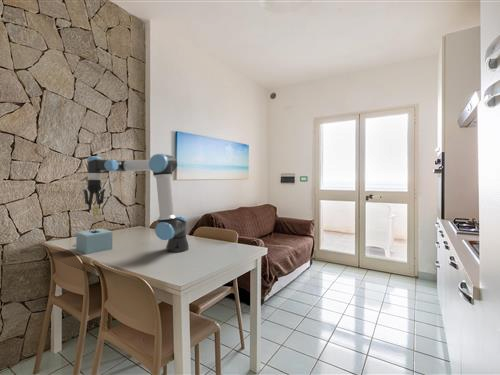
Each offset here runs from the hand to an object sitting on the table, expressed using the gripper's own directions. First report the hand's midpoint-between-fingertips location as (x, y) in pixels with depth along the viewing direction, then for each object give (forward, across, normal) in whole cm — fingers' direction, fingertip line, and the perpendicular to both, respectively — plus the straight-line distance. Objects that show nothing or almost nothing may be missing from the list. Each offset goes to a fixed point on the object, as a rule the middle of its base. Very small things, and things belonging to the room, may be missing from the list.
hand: (94, 214), depth 175 cm
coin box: (+24, 0, 0) cm, 24 cm away
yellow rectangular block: (0, 0, 0) cm, 1 cm away
